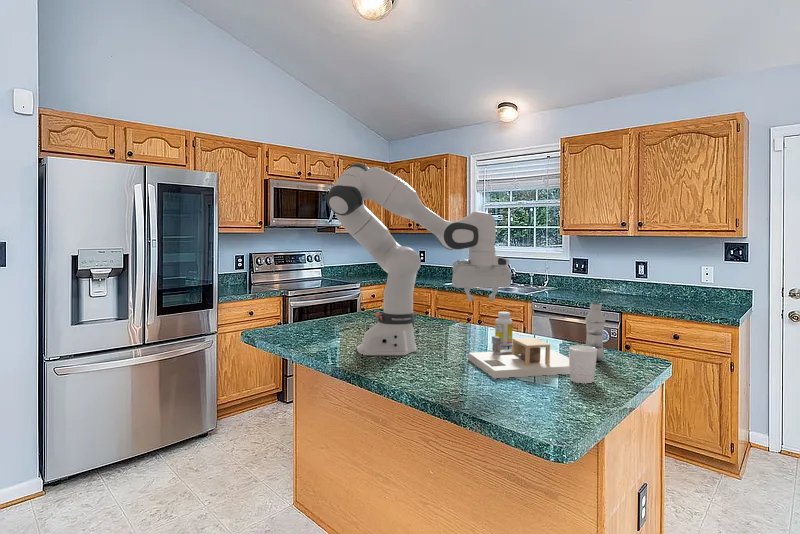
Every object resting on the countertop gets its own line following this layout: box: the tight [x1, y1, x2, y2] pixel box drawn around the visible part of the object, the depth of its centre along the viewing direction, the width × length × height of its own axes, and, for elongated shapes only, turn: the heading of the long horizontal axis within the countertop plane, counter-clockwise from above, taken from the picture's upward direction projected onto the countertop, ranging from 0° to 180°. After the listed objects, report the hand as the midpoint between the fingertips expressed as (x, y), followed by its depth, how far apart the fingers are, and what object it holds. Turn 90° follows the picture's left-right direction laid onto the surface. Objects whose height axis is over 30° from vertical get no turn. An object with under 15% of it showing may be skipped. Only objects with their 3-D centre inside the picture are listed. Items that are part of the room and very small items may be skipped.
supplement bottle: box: [494, 311, 514, 347], centre depth 189 cm, size 7×7×13 cm
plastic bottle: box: [585, 302, 606, 362], centre depth 166 cm, size 6×7×20 cm
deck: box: [468, 337, 570, 380], centre depth 158 cm, size 31×22×9 cm
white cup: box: [568, 344, 597, 385], centre depth 143 cm, size 8×8×10 cm
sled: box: [491, 335, 541, 362], centre depth 160 cm, size 10×15×6 cm
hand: (481, 300), depth 162 cm, fingers open, 6 cm apart
